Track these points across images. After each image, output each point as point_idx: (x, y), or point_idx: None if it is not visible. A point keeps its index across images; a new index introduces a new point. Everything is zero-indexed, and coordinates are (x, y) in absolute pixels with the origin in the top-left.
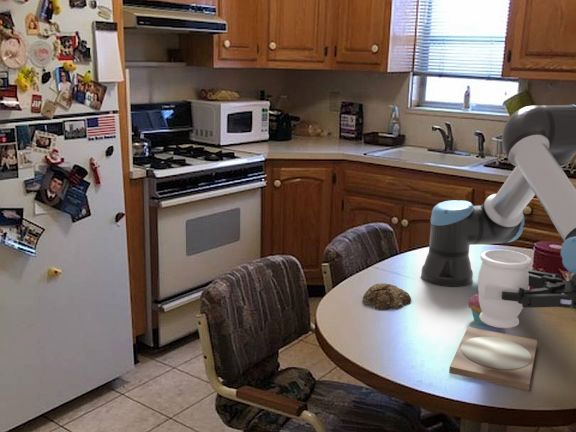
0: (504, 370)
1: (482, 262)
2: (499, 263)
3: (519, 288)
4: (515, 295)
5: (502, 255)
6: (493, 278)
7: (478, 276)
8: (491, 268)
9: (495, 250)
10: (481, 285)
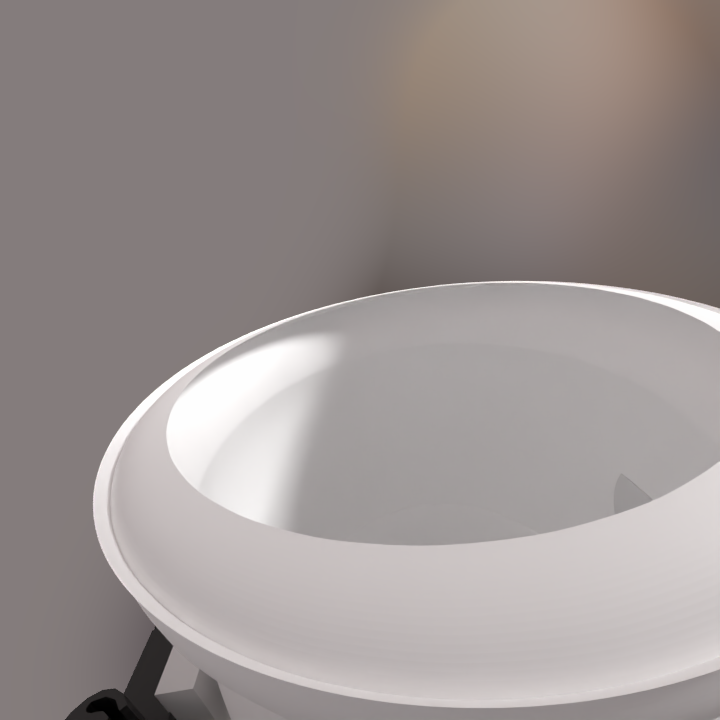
0: None
1: (401, 346)
2: (204, 359)
3: (101, 691)
4: (133, 687)
5: (644, 359)
6: (266, 451)
7: (405, 417)
8: (282, 385)
9: (601, 294)
10: (345, 459)
